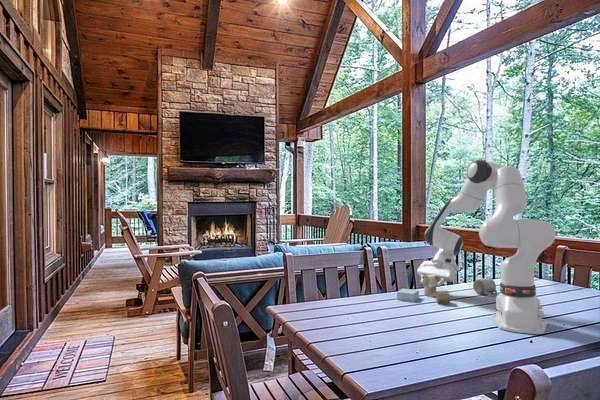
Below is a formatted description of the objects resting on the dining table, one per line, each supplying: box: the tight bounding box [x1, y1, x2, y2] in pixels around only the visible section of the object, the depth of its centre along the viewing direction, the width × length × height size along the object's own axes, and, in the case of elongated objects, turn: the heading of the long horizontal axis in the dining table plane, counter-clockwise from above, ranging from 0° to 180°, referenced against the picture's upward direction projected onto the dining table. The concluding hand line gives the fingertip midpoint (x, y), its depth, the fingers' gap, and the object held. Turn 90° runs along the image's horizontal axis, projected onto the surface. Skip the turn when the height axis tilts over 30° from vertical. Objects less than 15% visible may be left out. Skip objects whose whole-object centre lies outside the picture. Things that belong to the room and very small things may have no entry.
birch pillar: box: [423, 274, 437, 298], centre depth 186 cm, size 4×4×10 cm
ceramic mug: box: [472, 277, 498, 298], centre depth 186 cm, size 11×8×8 cm
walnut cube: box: [435, 290, 451, 306], centre depth 172 cm, size 5×5×5 cm
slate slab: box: [396, 288, 420, 303], centre depth 181 cm, size 8×8×4 cm
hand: (429, 284), depth 185 cm, fingers open, 8 cm apart
